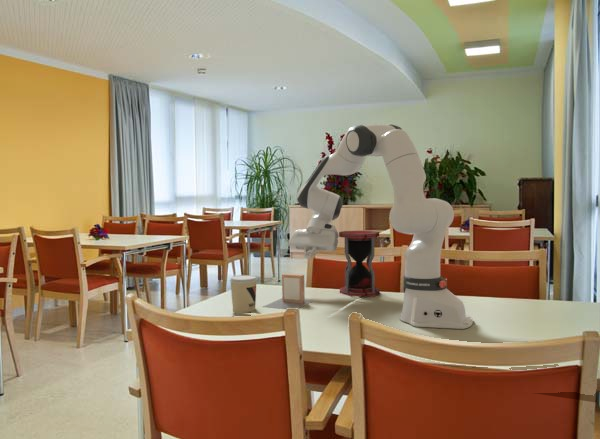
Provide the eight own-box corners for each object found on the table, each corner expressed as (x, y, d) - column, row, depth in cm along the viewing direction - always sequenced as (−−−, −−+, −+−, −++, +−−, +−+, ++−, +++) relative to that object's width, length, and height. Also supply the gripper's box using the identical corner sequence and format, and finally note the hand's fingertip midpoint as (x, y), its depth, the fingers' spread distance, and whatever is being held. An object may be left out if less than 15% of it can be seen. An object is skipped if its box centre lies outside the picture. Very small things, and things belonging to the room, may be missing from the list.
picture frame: (304, 301, 190) (304, 274, 189) (301, 303, 187) (301, 276, 187) (285, 299, 193) (285, 273, 193) (282, 301, 191) (281, 274, 190)
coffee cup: (253, 314, 174) (252, 280, 174) (227, 313, 176) (226, 279, 176) (260, 308, 184) (259, 275, 183) (235, 307, 186) (235, 274, 185)
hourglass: (361, 299, 195) (360, 234, 193) (331, 293, 207) (330, 232, 205) (387, 293, 206) (387, 231, 204) (357, 287, 218) (357, 229, 216)
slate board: (313, 302, 191) (313, 300, 191) (294, 312, 177) (294, 310, 177) (283, 299, 197) (283, 297, 197) (262, 308, 183) (262, 306, 182)
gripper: (292, 224, 212) (281, 251, 203) (338, 225, 203) (328, 253, 195) (297, 234, 216) (286, 260, 208) (342, 236, 207) (333, 263, 199)
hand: (307, 257), depth 201 cm, fingers closed
